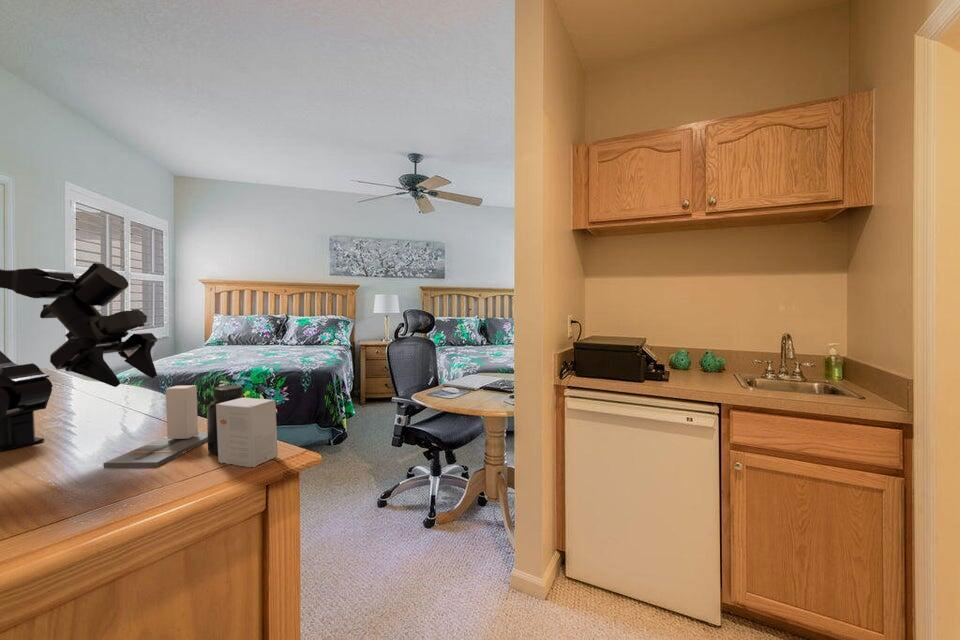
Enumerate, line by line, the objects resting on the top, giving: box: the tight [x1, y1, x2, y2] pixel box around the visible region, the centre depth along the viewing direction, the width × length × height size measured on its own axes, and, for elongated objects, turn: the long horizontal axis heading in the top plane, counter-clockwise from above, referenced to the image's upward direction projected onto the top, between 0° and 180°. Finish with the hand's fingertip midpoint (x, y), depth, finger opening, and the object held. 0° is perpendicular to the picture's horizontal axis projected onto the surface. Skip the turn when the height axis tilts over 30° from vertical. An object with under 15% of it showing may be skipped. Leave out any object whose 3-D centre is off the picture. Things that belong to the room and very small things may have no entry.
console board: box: [102, 431, 208, 469], centre depth 79 cm, size 17×9×2 cm, turn 1°
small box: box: [216, 397, 279, 468], centre depth 74 cm, size 8×6×10 cm
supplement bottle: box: [206, 384, 244, 456], centre depth 79 cm, size 7×7×12 cm
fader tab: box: [165, 384, 199, 439], centre depth 84 cm, size 3×4×10 cm
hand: (137, 380), depth 83 cm, fingers open, 9 cm apart
